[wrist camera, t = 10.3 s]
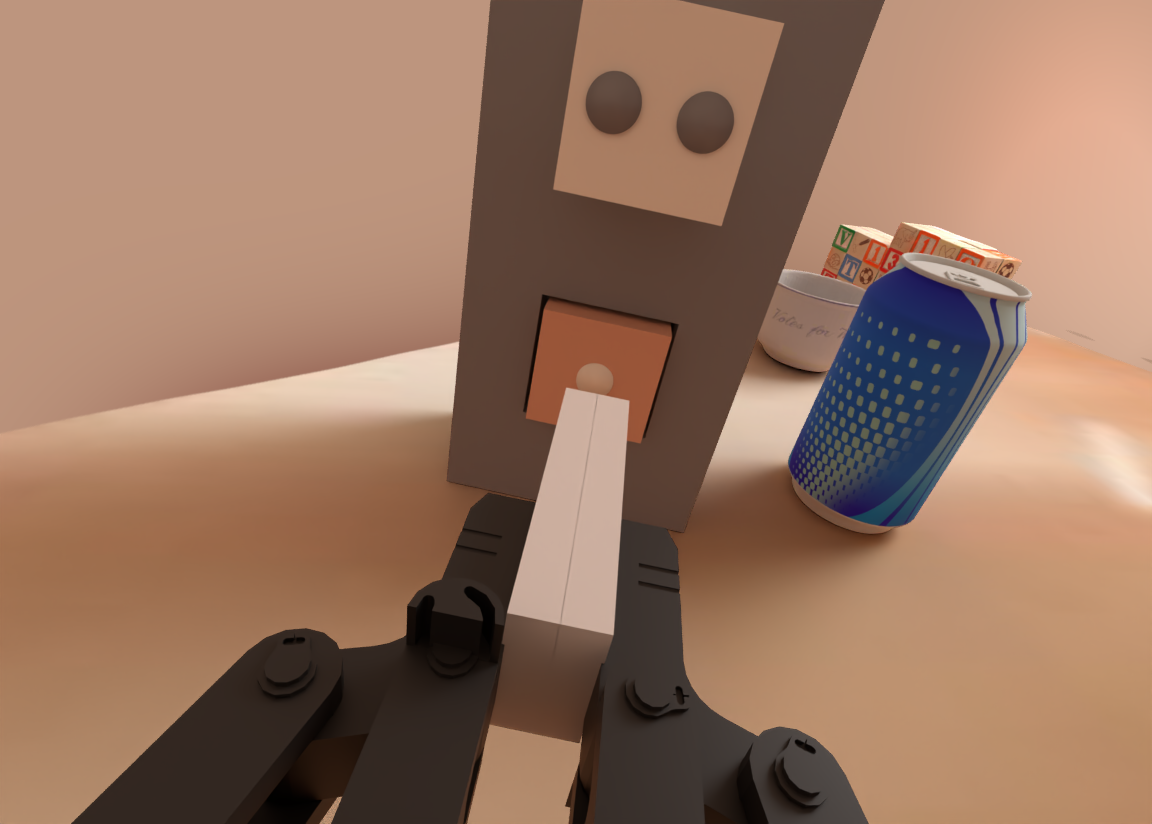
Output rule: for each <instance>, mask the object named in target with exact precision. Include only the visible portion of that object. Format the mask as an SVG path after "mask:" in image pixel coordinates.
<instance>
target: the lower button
mask: <svg viewBox="0 0 1152 824" xmlns="http://www.w3.org/2000/svg"><path fill="white" fill-rule="evenodd" d="M671 339H672V332H671V322H667V321H662V320H658V319H653V318H649V317H644V316H639V315H635V314H630V313H626V312H621V311H617V310H612V309H608V308H603V307H598V306H594V305H589V304H585V303H580V302H576V301H571V300H566V299H562V298H557V297H553V296H550V297H549V299H548V301H547V304H546V306H545V308H544V312H543V318H542V324H541V330H540V336H539V342H538V348H537V354H536V360H535V366H534V372H533V378H532V383H531V389H530V395H529V401H528V407H527V413H526V419H531V420H536V421H540V422H545V423H549V424H554V425H557V421H558V418H559V414H560V410H561V406H562V402H563V399H564V395H565V391H566V388H571V389H576V390H580V391H585V392H590V393H595V394H600V395H605V396H609V397H614V398H619V399H624V400H629V414H628V428H627V441H632V442H636V443H641V440H642V437H643V433H644V430H645V427H646V423H647V420H648V416H649V413H650V410H651V406H652V403H653V399H654V396H655V393H656V389H657V386H658V383H659V379H660V376H661V372H662V369H663V366H664V362H665V359H666V356H667V352H668V349H669V345H670V342H671Z"/></svg>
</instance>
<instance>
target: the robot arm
mask: <svg viewBox="0 0 1152 824" xmlns="http://www.w3.org/2000/svg"><path fill="white" fill-rule="evenodd" d="M628 414H629V400H624V399H619V398H614V397H609V396H605V395H600V394H595V393H590V392H585V391H580V390H576V389H571V388H566V391H565V395H564V399H563V402H562V406H561V410H560V414H559V418H558V421H557V425H556V429H555V433H554V436H553V440H552V444H551V448H550V452H549V455H548V459H547V463H546V467H545V471H544V474H543V478H542V482H541V486H540V490H539V493H538V497H537V501H536V503H535V502H530V501H525V500H520V499H515V498H511V497H506V496H501V495H496V494H491V493H488V494H486V495H485V496H484V497H483V498H482V499H481V500H479V501H478V502H477V503H476V504H475V505H474V506H473V507H471V509H470V511H469V514H468V516H467V519H466V521H465V524H464V526H463V529H462V532H461V533H460V536H459V538H458V541H457V543H456V547H455V549H454V551H453V553H452V556H451V558H450V560H449V563H448V565H447V568H446V570H445V573H444V575H443V578H442V580H439V581H435V582H432V583H430V584H429V585H427V586H426V587H424V588H423V589H421V590H419V591H418V592H417V593H416V595H415V596H414V597H413V599H412V600H411V601H410V603H409V604H408V605H407V634H406V636H404V637H403V638H401V639H398V640H396V641H393V642H391V643H388V644H383V645H377V646H371V647H360V648H349V649H339V647H338V645H337V643H336V642H335V641H334V640H332V639H331V638H330V637H328V636H327V635H326V634H325V633H323V632H319V631H315V630H311V629H307V628H305V629H293V630H285V631H282V632H280V633H277V634H274V635H272V636H269V637H266V638H265V639H263V640H262V641H261V642H259V643H258V644H256V645H255V646H254V647H252V648H251V649H250V650H248V651H247V652H246V653H245V654H244V655H243V656H242V657H241V658H240V659H239V660H238V661H237V662H236V663H235V664H234V665H233V666H232V667H231V668H230V669H229V670H228V671H227V672H226V673H225V674H224V675H223V676H222V677H221V678H219V679H218V680H217V681H216V682H215V683H214V684H213V685H212V686H211V687H210V688H209V689H208V690H207V691H206V692H205V693H204V694H203V695H202V696H201V697H200V698H199V699H198V700H197V701H196V702H195V703H194V704H193V705H192V706H191V707H190V708H189V709H188V710H187V711H186V712H185V713H184V714H183V715H182V716H181V717H180V718H179V719H178V720H177V721H176V722H175V723H174V724H172V725H171V726H170V727H169V728H168V729H167V730H166V731H165V732H164V733H163V734H162V735H161V736H160V737H159V738H158V739H157V740H156V741H155V742H154V743H153V744H152V745H151V746H150V747H149V748H148V749H147V750H146V751H145V752H144V753H143V754H142V755H141V756H140V757H139V758H138V759H137V760H136V761H135V762H134V763H133V764H132V765H131V766H130V767H129V768H128V769H127V770H125V771H124V772H123V773H122V774H121V775H120V776H119V777H118V778H117V779H116V780H115V781H114V782H113V783H112V784H111V785H110V786H109V787H108V788H107V789H106V790H105V791H104V792H103V793H102V794H101V795H100V796H99V797H98V798H97V799H96V800H95V801H94V802H93V803H92V804H91V805H90V806H89V807H88V808H87V809H86V810H85V811H84V812H83V813H82V814H81V815H79V816H78V817H77V818H76V819H75V820H74V821H73V822H72V823H71V824H319V823H320V822H321V820H322V819H323V817H324V816H325V815H326V813H327V812H328V810H329V809H330V807H331V806H332V804H333V803H334V801H335V800H336V798H337V797H342V796H343V797H342V799H341V801H340V804H339V806H338V809H337V811H336V813H335V816H334V818H333V821H332V823H331V824H467V821H468V817H469V813H470V809H471V804H472V800H473V796H474V792H475V788H476V784H477V779H478V775H479V771H480V767H481V763H482V757H483V751H484V745H485V741H486V737H487V733H488V729H489V724H490V725H495V726H500V727H504V728H509V729H514V730H519V731H523V732H528V733H533V734H538V735H542V736H547V737H552V738H557V739H561V740H566V741H571V742H576V743H579V742H580V739H581V736H582V743H581V752H580V762H579V765H578V768H577V771H576V774H575V777H574V780H573V783H572V786H571V789H570V793H569V796H568V799H567V802H566V805H565V806H566V807H570V816H569V824H869V823H868V821H867V819H866V817H865V815H864V813H863V811H862V809H861V807H860V805H859V802H858V800H857V798H856V796H855V794H854V792H853V790H852V788H851V786H850V784H849V782H848V779H847V777H846V775H845V774H844V772H843V770H842V769H841V767H840V766H839V764H838V763H837V761H836V760H835V758H834V757H833V755H832V754H831V753H830V752H829V751H828V750H826V749H825V748H824V747H823V746H822V745H821V744H820V743H819V742H818V741H817V740H816V739H814V738H812V737H810V736H808V735H806V734H804V733H802V732H801V731H799V730H796V729H790V728H785V727H776V728H772V729H768V730H765V731H763V732H762V733H761V734H760V735H759V736H756V735H754V734H753V733H751V732H749V731H747V730H745V729H743V728H741V727H740V726H738V725H736V724H734V723H732V722H730V721H729V720H727V719H725V718H723V717H722V716H720V715H719V714H717V713H716V712H714V711H713V710H711V709H710V708H709V707H708V706H707V705H706V704H705V703H704V702H703V701H702V700H701V699H700V698H699V697H698V695H697V694H696V692H695V691H694V690H693V688H692V687H691V685H690V682H689V680H688V678H687V676H686V673H685V667H684V662H683V643H682V623H681V604H680V594H679V590H680V585H679V575H678V572H679V566H678V549H677V547H676V545H675V544H674V542H673V540H672V538H671V536H670V534H669V533H668V531H667V529H666V528H662V527H658V526H653V525H648V524H643V523H638V522H634V521H629V520H624V519H621V517H622V502H623V488H624V473H625V458H626V443H627V428H628Z"/></svg>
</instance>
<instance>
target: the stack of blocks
mask: <svg viewBox="0 0 1152 824" xmlns="http://www.w3.org/2000/svg"><path fill="white" fill-rule="evenodd" d="M904 253H922V254H929V255H934V256H939V257H944V258H948V259H952V260H956V261H959V262H963V263H966V264H970V265H973V266H976V267H979V268H982V269H985V270H988V271H991V272H993V273H996V274H999V275H1001V276H1004V277H1006V278H1008V279H1012V277H1013V276H1014V274H1015V273H1016V271H1017V270H1018V268H1019V266H1020V265H1021V263H1022V261H1020V260H1018V259H1015V258H1013V257H1010V256H1008V255H1005V254H1003V253H1000V252H998V250H997V249H995V248H992V247H990V246H987V245H985V244H982V243H979V242H977V241H972V240H969V239H966V238H963V237H961V236H958V235H956V234H953V233H951V232H948V231H945V230H943V229H940V228H937V227H935V226H928V225H919V224H911V223H904V222H901V224H900V226H899V227H898V229H897V232H896V234H895V236H894V237H893V236H890V235H887V234H885V233H883V232H881V231H878V230H876V229H874V228H868V227H859V226H858V227H856V226H850V225H840V227H839V229H838V232H837V234H836V237H835V239H834V241H833V244H832V248H831V251H830V253H829V255H828V258H827V260H826V262H825V265H824V268H823V270H822V273H821V275H822V276H826V277H830V278H835V279H838V280H841V281H843V282H847V283H850V284H853V285H856V286H858V287H860V288H863V289H865V290H867V288H868V287H869V286H870V285H871V284H872V283H873V282H875V281H876V280H877V279H879V278H880V277H882V276H883V275H884V274H886V273H887V272H888V271H890V270H891V269H892V268H894V267H895V266H897V265H898V264H899V263H900V257H901V255H902V254H904Z"/></svg>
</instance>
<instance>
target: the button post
mask: <svg viewBox="0 0 1152 824" xmlns="http://www.w3.org/2000/svg"><path fill="white" fill-rule="evenodd" d="M680 1H685V2H689V3H694V4H698V5H703V6H707V7H712V8H717V9H721V10H726V11H730V12H735V13H739V14H744V15H749V16H753V17H758V18H762V19H767V20H771V21H776V22H780V23H784V26H783V29H782V33H781V36H780V39H779V42H778V46H777V49H776V52H775V55H774V58H773V62H772V65H771V68H770V71H769V75H768V78H767V81H766V84H765V87H764V91H763V94H762V97H761V100H760V104H759V107H758V110H757V113H756V116H755V120H754V123H753V126H752V129H751V133H750V136H749V139H748V142H747V145H746V149H745V152H744V155H743V158H742V162H741V165H740V168H739V171H738V174H737V178H736V181H735V184H734V187H733V191H732V194H731V197H730V200H729V203H728V207H727V210H726V213H725V216H724V220H723V223H722V226H718V225H714V224H709V223H705V222H700V221H696V220H691V219H686V218H682V217H677V216H673V215H668V214H664V213H659V212H654V211H650V210H645V209H641V208H636V207H632V206H627V205H622V204H618V203H613V202H609V201H604V200H600V199H595V198H591V197H586V196H581V195H577V194H572V193H568V192H563V191H559V190H554V189H553V187H554V180H555V174H556V168H557V162H558V155H559V149H560V143H561V136H562V130H563V124H564V117H565V111H566V105H567V99H568V92H569V86H570V80H571V73H572V67H573V61H574V54H575V48H576V42H577V36H578V29H579V23H580V17H581V10H582V4H583V0H491V2H490V13H489V25H488V35H487V46H486V57H485V69H484V79H483V90H482V101H481V112H480V123H479V134H478V145H477V155H476V166H475V178H474V188H473V199H472V210H471V221H470V232H469V243H468V254H467V265H466V276H465V288H464V298H463V309H462V320H461V332H460V341H459V352H458V363H457V374H456V385H455V396H454V407H453V418H452V429H451V440H450V451H449V462H448V473H447V481H450V482H454V483H459V484H463V485H468V486H472V487H477V488H482V489H486V490H491V491H495V492H500V493H504V494H509V495H514V496H518V497H523V498H527V499H532V500H536V501H537V497H538V493H539V490H540V486H541V482H542V478H543V474H544V471H545V467H546V463H547V459H548V455H549V452H550V448H551V444H552V440H553V436H554V433H555V429H556V425H554V424H549V423H545V422H540V421H536V420H531V419H526V413H527V407H528V401H529V395H530V389H531V383H532V378H533V372H534V366H535V360H536V354H537V348H538V342H539V336H540V330H541V324H542V318H543V312H544V308H545V306H546V304H547V301H548V299H549V297H550V296H553V297H557V298H562V299H566V300H571V301H576V302H580V303H585V304H589V305H594V306H598V307H603V308H608V309H612V310H617V311H621V312H626V313H630V314H635V315H639V316H644V317H649V318H653V319H658V320H662V321H667V322H671V332H672V339H671V342H670V345H669V349H668V352H667V356H666V359H665V362H664V366H663V369H662V372H661V376H660V379H659V383H658V386H657V389H656V393H655V396H654V399H653V403H652V406H651V410H650V413H649V416H648V420H647V423H646V427H645V430H644V433H643V437H642V440H641V443H636V442H632V441H627V443H626V458H625V473H624V488H623V502H622V517H621V519H624V520H629V521H634V522H638V523H643V524H648V525H653V526H658V527H662V528H666V529H669V530H674V531H678V532H683V533H684V530H685V527H686V525H687V522H688V519H689V517H690V514H691V511H692V509H693V506H694V504H695V501H696V498H697V496H698V493H699V490H700V488H701V485H702V482H703V480H704V477H705V474H706V472H707V469H708V466H709V464H710V461H711V459H712V456H713V453H714V451H715V448H716V445H717V443H718V440H719V437H720V435H721V432H722V429H723V427H724V424H725V422H726V419H727V416H728V414H729V411H730V408H731V406H732V403H733V400H734V398H735V395H736V392H737V390H738V387H739V385H740V382H741V379H742V377H743V374H744V371H745V369H746V366H747V363H748V361H749V358H750V355H751V353H752V350H753V347H754V345H755V342H756V340H757V337H758V334H759V332H760V329H761V326H762V324H763V321H764V318H765V316H766V313H767V310H768V308H769V305H770V303H771V300H772V297H773V295H774V292H775V289H776V287H777V284H778V281H779V279H780V276H781V273H782V271H783V268H784V265H785V263H786V260H787V258H788V255H789V252H790V250H791V247H792V244H793V242H794V239H795V236H796V234H797V231H798V228H799V226H800V223H801V221H802V218H803V215H804V213H805V210H806V207H807V204H808V202H809V199H810V197H811V194H812V191H813V189H814V186H815V183H816V181H817V178H818V176H819V173H820V170H821V168H822V165H823V162H824V159H825V157H826V154H827V152H828V149H829V146H830V144H831V141H832V139H833V136H834V133H835V131H836V128H837V125H838V123H839V120H840V117H841V115H842V112H843V109H844V107H845V104H846V101H847V99H848V96H849V94H850V91H851V88H852V86H853V83H854V80H855V78H856V75H857V72H858V70H859V67H860V64H861V62H862V59H863V57H864V54H865V51H866V49H867V46H868V43H869V41H870V38H871V35H872V32H873V30H874V27H875V24H876V22H877V20H878V17H879V14H880V11H881V9H882V6H883V4H884V1H885V0H680Z"/></svg>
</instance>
